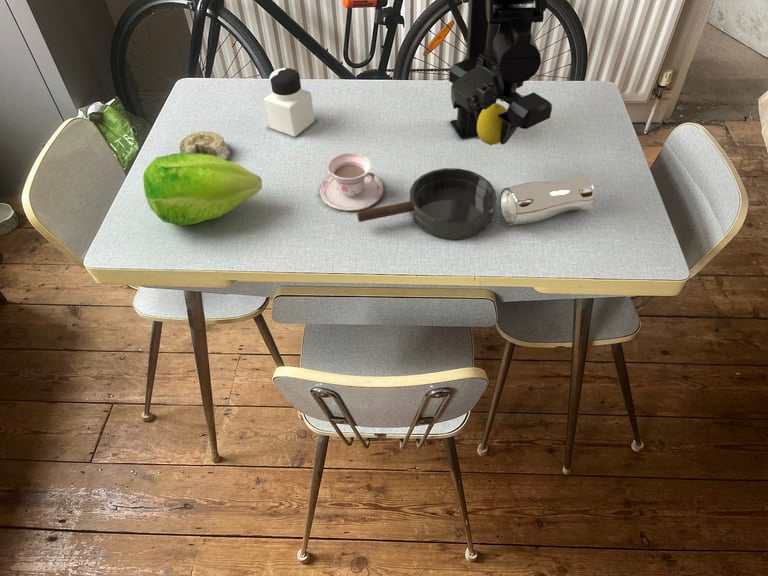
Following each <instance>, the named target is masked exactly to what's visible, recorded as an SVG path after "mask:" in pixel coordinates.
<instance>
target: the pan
mask: <svg viewBox="0 0 768 576" xmlns="http://www.w3.org/2000/svg"><path fill="white" fill-rule="evenodd" d="M409 201H413V203H414V204H413V211H411V212H409V215H410V217H411V220H412V222H413V223H414V224H415V225H416V226H417V227H418V228H419V229H420V230H422V231H423V232H426V233H427V234H429V235H431V236H433V237H437V238H442V239H448V240H457V239H458V240H459V239H461V240H462V239H465V238H470V237H473V236H476V235H478V234H480V233H481V232H483V231H485V230H486V229H487V228H488V226H490V225H491V224H492V222H493V218H494V216H495V211H496V205H497V201H498V200H497V192H496V189H495V188H494V186H493V185H492V183H491V181H489V180H488V179H486V178H485V177H484V176H482V175H481V174H479V173H476V172H474V171H471V170H467V169H463V168H457V167H456V168H455V167H453V168H452V167H446V168H445V167H444V168H439V169H433V170H431V171H428V172H426V173H424V174H422V175H420V176H419V177H418V178H416V180H415V181H414V182H413V184H412V185H411V187H410V189H409Z"/></svg>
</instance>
